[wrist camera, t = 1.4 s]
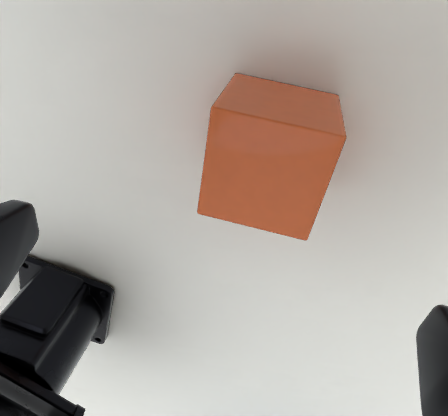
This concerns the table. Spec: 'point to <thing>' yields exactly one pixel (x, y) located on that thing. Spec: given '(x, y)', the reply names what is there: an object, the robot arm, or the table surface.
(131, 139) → the table surface
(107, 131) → the table surface
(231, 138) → the block
